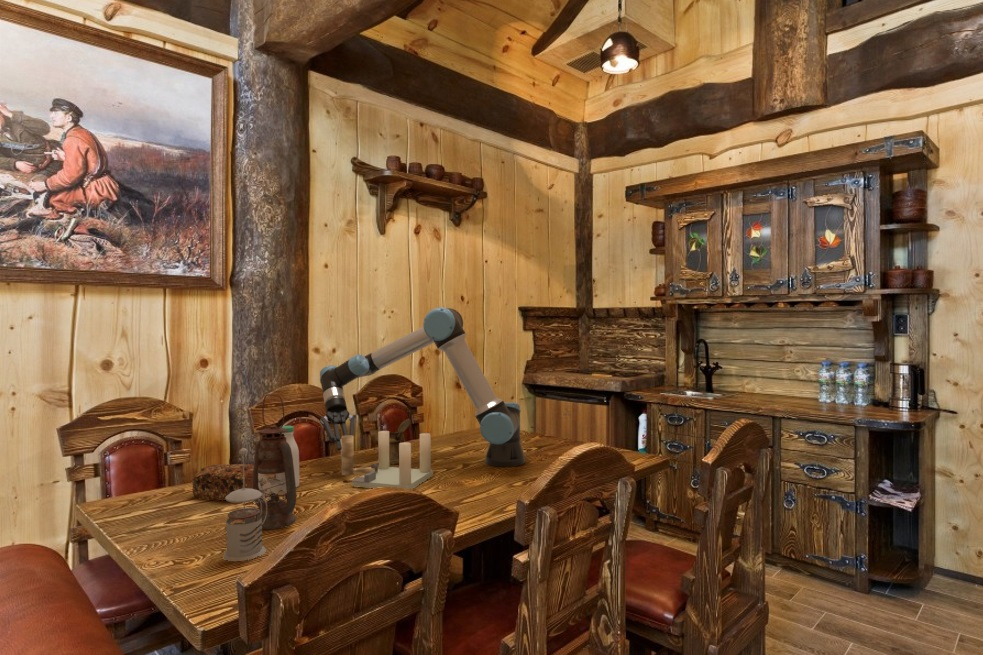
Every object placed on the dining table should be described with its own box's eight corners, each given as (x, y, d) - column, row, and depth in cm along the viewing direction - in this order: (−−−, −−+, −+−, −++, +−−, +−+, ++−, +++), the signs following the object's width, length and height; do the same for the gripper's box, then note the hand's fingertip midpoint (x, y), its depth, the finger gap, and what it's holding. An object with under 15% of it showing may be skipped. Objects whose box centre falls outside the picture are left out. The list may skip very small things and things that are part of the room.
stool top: (432, 475, 207) (432, 433, 207) (407, 492, 188) (407, 445, 187) (380, 471, 213) (379, 430, 213) (350, 487, 194) (349, 441, 194)
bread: (264, 494, 188) (264, 462, 187) (241, 504, 177) (241, 471, 177) (215, 489, 192) (214, 459, 192) (190, 499, 182) (190, 467, 182)
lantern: (277, 534, 152) (276, 398, 151) (237, 523, 160) (236, 394, 160) (310, 521, 161) (309, 393, 161) (271, 511, 170) (270, 390, 169)
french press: (212, 558, 137) (210, 451, 136) (249, 540, 148) (248, 441, 147) (245, 564, 133) (244, 454, 133) (280, 545, 144) (279, 443, 144)
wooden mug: (401, 468, 219) (401, 419, 218) (374, 463, 226) (373, 416, 225) (416, 462, 226) (416, 416, 226) (389, 458, 233) (389, 413, 233)
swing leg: (377, 469, 206) (376, 433, 206) (378, 472, 202) (378, 435, 202) (341, 472, 203) (341, 435, 202) (342, 475, 199) (341, 437, 199)
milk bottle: (304, 485, 197) (303, 425, 196) (287, 491, 190) (286, 429, 189) (286, 482, 200) (286, 423, 199) (269, 488, 193) (268, 427, 192)
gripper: (351, 407, 224) (362, 461, 210) (314, 409, 218) (324, 465, 203) (355, 395, 219) (367, 449, 205) (317, 397, 213) (327, 453, 199)
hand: (345, 457), depth 204 cm, fingers closed, pressing on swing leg
